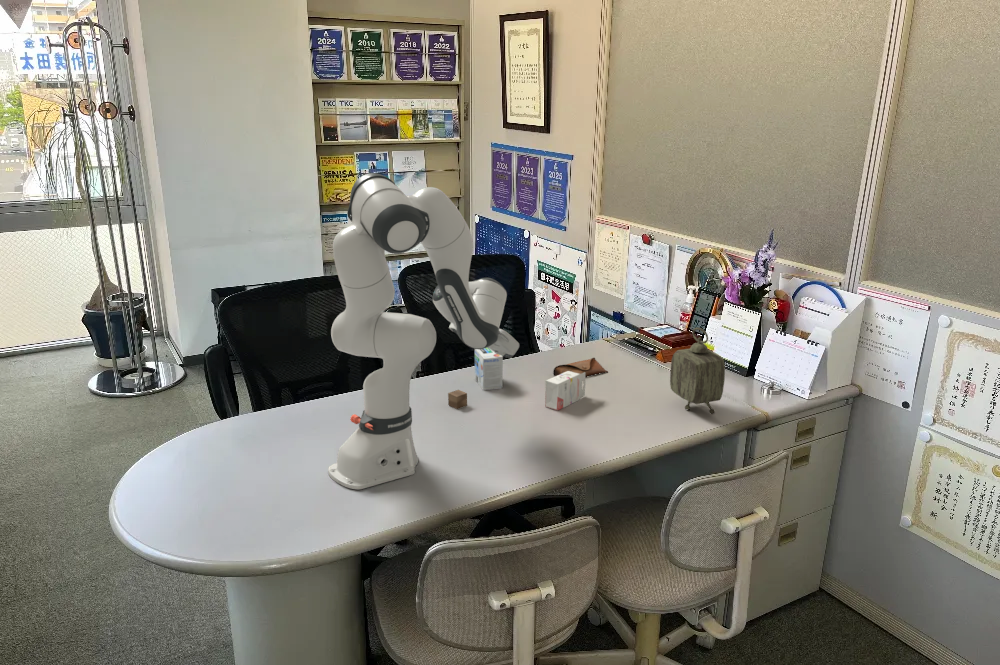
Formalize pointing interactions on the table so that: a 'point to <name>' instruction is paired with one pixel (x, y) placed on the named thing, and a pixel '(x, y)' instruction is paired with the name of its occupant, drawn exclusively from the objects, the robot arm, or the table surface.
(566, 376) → the ink cartridge box
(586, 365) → the sunglasses case
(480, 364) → the light bulb box
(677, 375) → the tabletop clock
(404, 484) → the table surface
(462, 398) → the walnut block
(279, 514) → the table surface
